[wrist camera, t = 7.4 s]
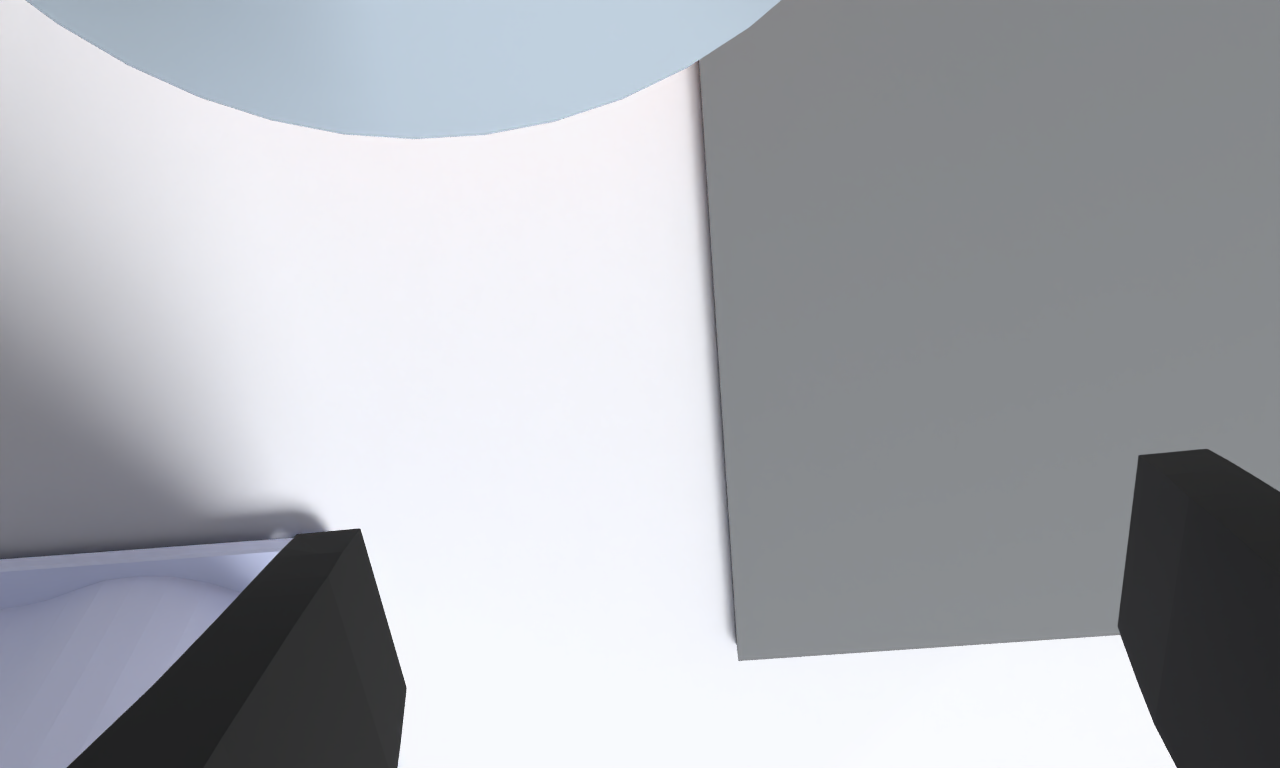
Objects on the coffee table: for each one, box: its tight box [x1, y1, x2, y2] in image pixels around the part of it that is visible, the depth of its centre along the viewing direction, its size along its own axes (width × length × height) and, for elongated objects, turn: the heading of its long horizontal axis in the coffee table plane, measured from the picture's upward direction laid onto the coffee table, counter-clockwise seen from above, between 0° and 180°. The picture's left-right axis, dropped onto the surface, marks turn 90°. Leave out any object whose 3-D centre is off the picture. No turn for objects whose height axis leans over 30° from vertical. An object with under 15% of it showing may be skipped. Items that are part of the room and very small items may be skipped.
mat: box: [699, 0, 1280, 661], centre depth 21 cm, size 14×14×1 cm
